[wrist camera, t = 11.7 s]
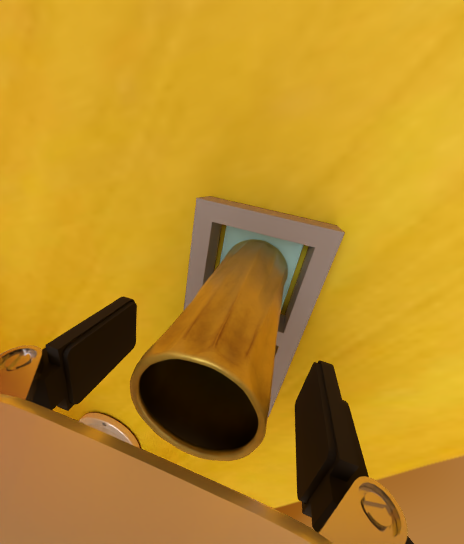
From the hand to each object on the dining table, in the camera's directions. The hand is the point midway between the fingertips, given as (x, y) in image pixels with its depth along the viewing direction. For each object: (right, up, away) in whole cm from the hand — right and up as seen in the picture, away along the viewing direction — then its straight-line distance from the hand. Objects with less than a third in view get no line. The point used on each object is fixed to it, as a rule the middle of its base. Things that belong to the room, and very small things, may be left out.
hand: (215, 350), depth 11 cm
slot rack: (+2, 0, +12) cm, 12 cm away
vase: (+3, +4, +10) cm, 11 cm away
